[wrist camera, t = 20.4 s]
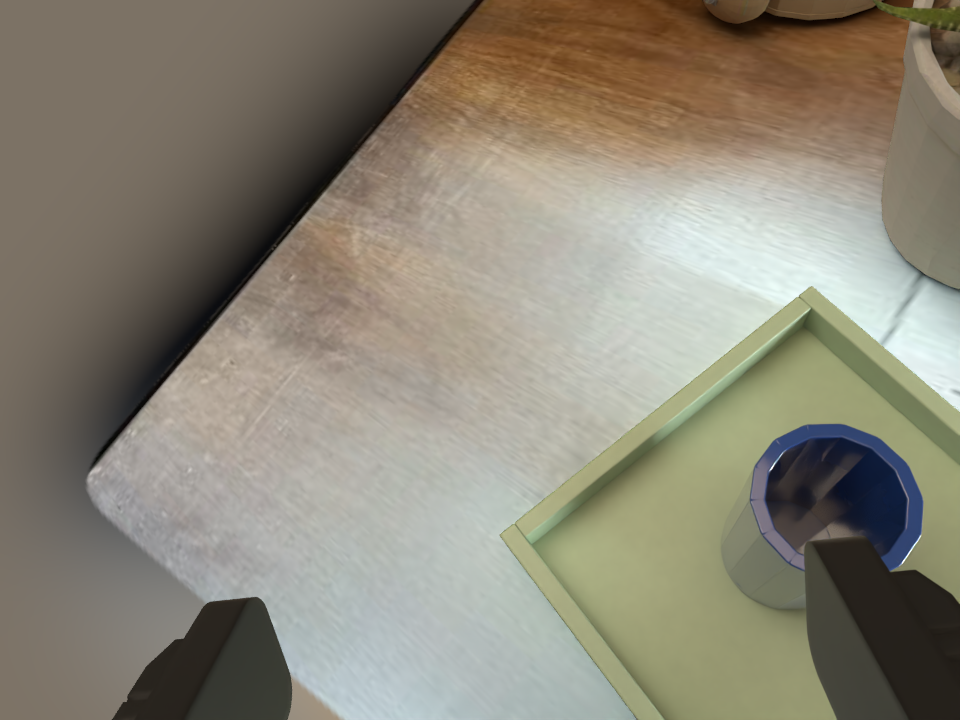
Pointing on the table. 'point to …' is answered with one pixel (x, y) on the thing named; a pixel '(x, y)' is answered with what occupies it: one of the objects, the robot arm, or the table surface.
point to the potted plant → (927, 143)
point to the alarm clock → (785, 8)
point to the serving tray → (705, 507)
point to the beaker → (817, 509)
